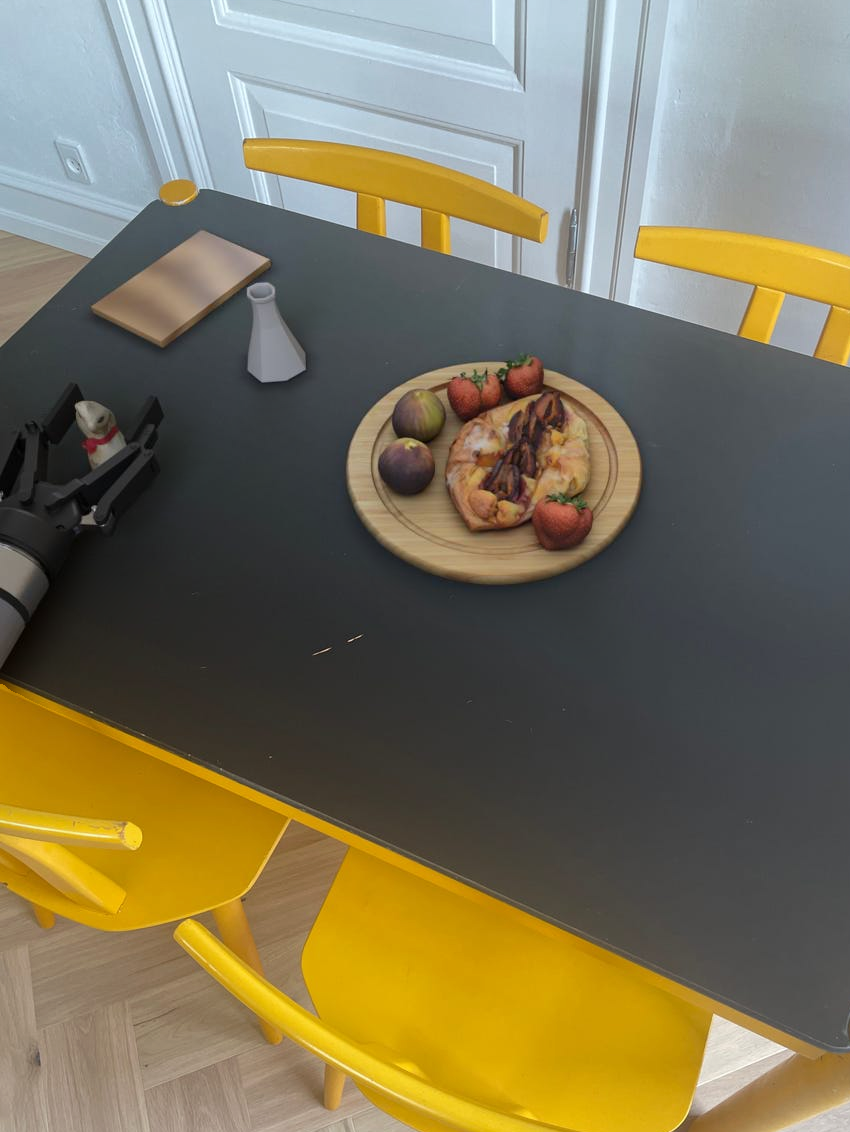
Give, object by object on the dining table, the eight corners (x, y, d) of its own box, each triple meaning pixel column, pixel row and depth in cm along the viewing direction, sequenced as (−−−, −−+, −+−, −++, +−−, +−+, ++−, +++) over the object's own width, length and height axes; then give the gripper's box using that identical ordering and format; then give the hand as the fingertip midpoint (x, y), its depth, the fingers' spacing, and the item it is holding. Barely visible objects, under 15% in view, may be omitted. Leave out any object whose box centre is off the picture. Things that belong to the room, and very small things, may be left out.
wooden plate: (687, 552, 91) (705, 497, 84) (383, 622, 86) (376, 569, 79) (581, 355, 108) (589, 295, 101) (322, 403, 103) (311, 344, 96)
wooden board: (163, 348, 108) (160, 341, 107) (93, 313, 111) (90, 306, 111) (271, 266, 117) (269, 259, 116) (203, 236, 121) (201, 229, 120)
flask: (315, 373, 106) (302, 300, 97) (257, 391, 104) (238, 318, 95) (296, 338, 109) (281, 264, 101) (239, 354, 107) (219, 280, 99)
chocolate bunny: (150, 445, 99) (120, 373, 90) (135, 498, 94) (102, 427, 86) (100, 445, 99) (66, 373, 90) (82, 497, 94) (45, 427, 86)
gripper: (-72, 568, 86) (40, 411, 98) (131, 607, 84) (220, 441, 96) (-115, 517, 80) (10, 355, 92) (103, 557, 78) (202, 386, 90)
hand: (117, 399), depth 94 cm, fingers open, 8 cm apart
